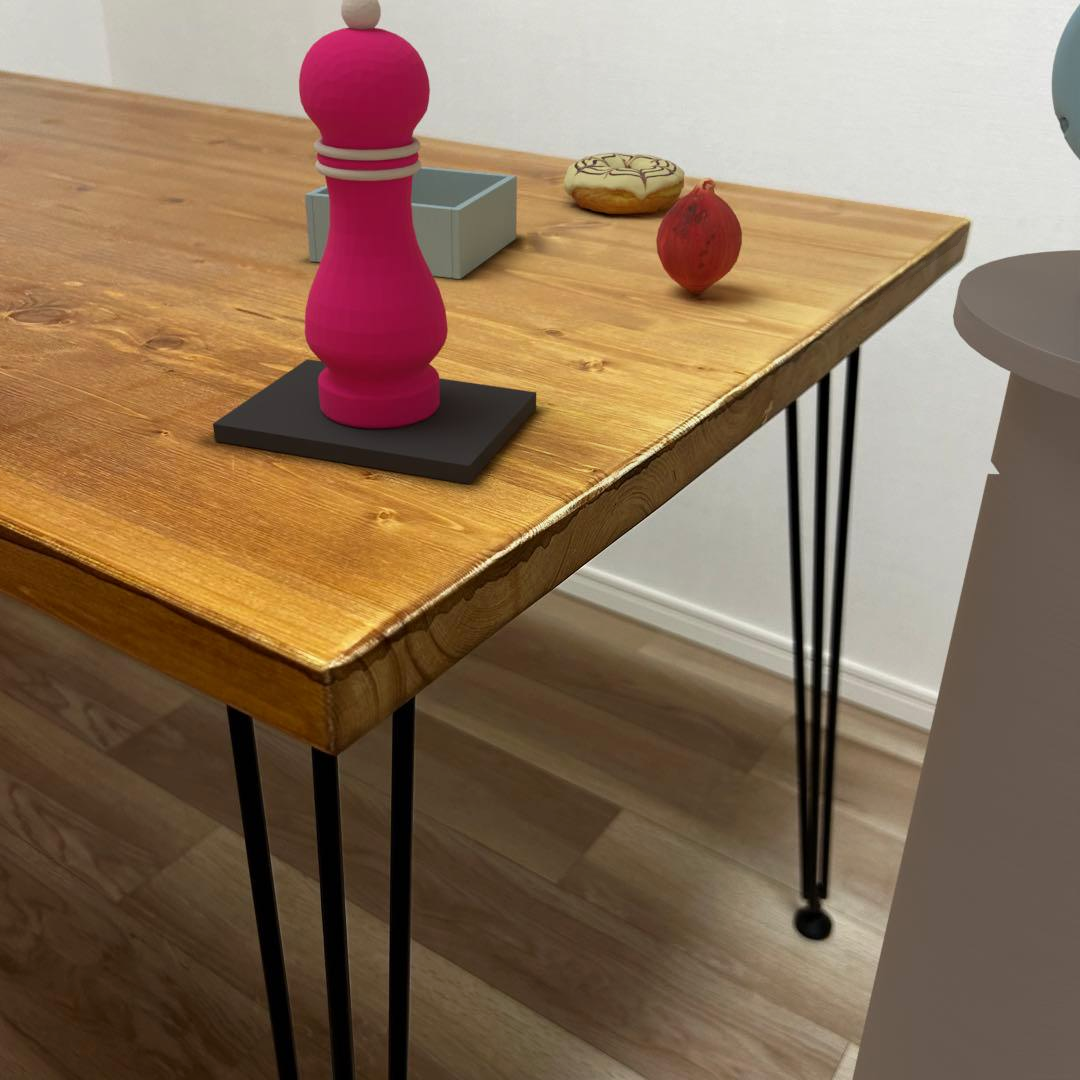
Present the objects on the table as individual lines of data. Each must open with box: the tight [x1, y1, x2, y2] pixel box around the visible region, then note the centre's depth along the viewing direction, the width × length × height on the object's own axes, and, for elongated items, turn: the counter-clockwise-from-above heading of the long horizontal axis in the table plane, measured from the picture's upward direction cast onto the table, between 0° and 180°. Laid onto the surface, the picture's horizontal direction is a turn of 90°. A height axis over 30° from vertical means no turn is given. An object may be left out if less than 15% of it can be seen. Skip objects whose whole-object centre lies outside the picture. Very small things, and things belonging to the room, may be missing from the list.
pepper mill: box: [298, 0, 449, 429], centre depth 58 cm, size 7×7×20 cm
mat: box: [212, 358, 537, 485], centre depth 63 cm, size 14×10×1 cm
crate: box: [304, 166, 518, 280], centre depth 92 cm, size 12×12×5 cm
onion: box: [655, 177, 743, 295], centre depth 82 cm, size 6×6×8 cm
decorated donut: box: [563, 152, 685, 215], centre depth 107 cm, size 10×11×4 cm
